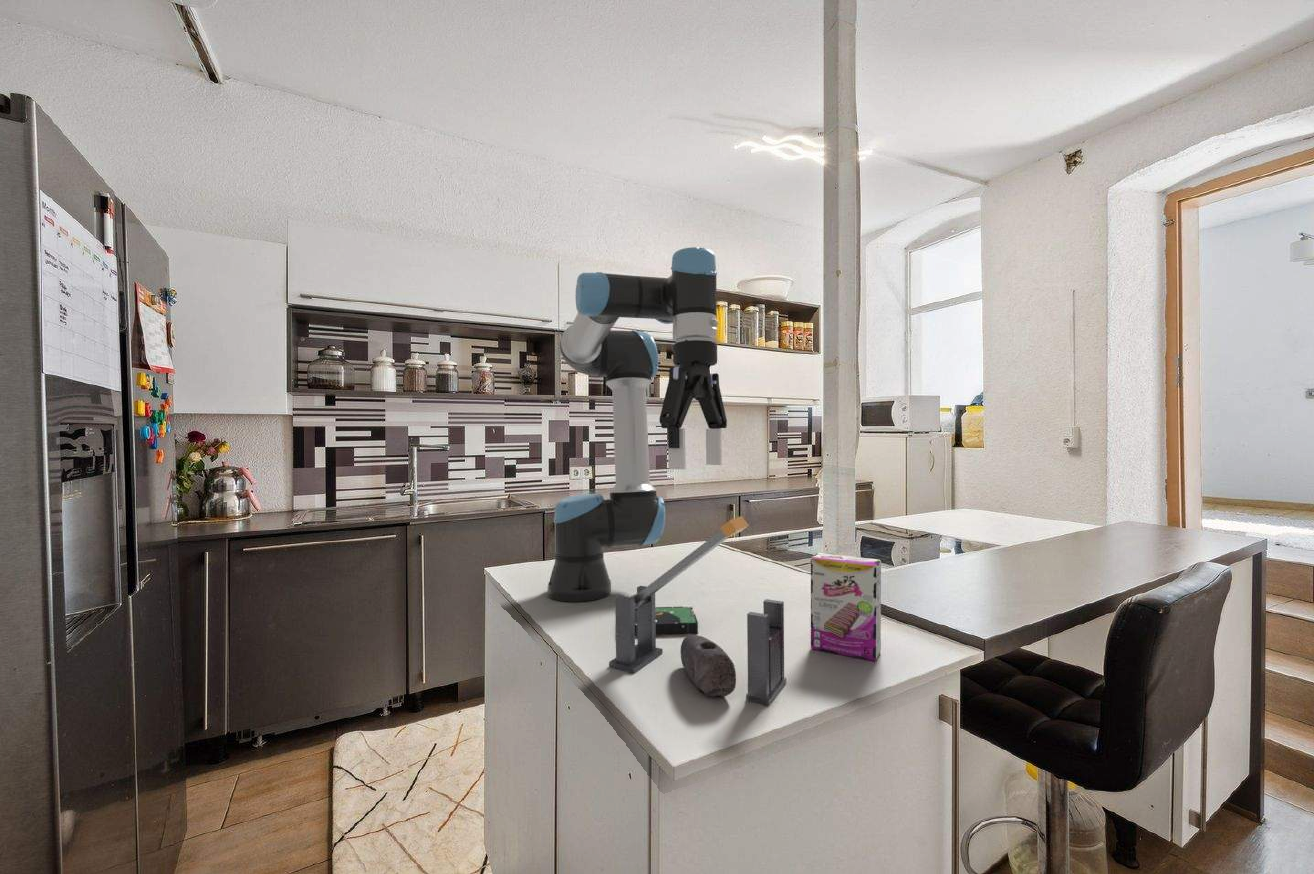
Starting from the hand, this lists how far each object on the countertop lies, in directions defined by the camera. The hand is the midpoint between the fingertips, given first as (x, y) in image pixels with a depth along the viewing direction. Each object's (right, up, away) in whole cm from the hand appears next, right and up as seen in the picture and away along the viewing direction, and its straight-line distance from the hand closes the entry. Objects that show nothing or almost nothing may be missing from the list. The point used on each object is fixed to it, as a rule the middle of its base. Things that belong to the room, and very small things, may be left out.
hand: (696, 467), depth 94 cm
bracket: (-10, -33, 0) cm, 34 cm away
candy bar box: (+26, -33, +2) cm, 42 cm away
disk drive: (-6, -33, +16) cm, 38 cm away
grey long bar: (-2, -17, -5) cm, 18 cm away
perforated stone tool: (0, -33, -9) cm, 34 cm away
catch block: (+10, -33, -12) cm, 36 cm away
